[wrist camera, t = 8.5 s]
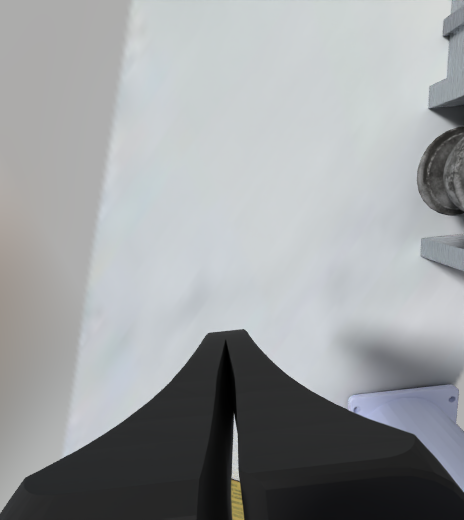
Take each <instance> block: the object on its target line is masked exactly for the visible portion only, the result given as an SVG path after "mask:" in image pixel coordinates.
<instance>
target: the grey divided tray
mask: <svg viewBox="0 0 464 520" xmlns="http://www.w3.org/2000/svg"><path fill="white" fill-rule="evenodd" d="M443 36H450V42H449V57H448V73H447V78H446V79H444V80H442V81H440V82H437V83H435V84H433V85H431V86H430V91H429V109H430V108H440V107H450V106H460V105H464V0H452V12H451V15H450V16H448V17H447V18H446V19H444V26H443ZM421 256H422V257H424V258H427V259H430V260H433V261H436V262H439V263H442V264H444V265H447V266H450V267H453V268H456V269H459V270H462V271H464V234H459V235H450V236H440V237H430V238H422V241H421Z"/></svg>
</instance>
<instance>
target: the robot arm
mask: <svg viewBox="0 0 464 520" xmlns="http://www.w3.org/2000/svg"><path fill="white" fill-rule="evenodd" d="M458 396H459V390H458V389H457V388H456V387H455V386H454V385H450V384H449V385H440V386H431V387H422V388H413V389H403V390H394V391H385V392H376V393H366V394H357V395H352V396H351V397H350V398H349V400H348V410H347V409H345V408H343V407H341V406H338V405H336V404H334V403H332V402H330V401H328V400H326V399H325V398H323V397H321V396H319V395H318V394H316V393H314V392H312V391H310V390H309V389H307V388H306V387H304V386H302V385H301V384H299V383H298V382H297V381H295V380H294V379H292V378H291V377H290V376H288V375H287V374H286V373H285V372H283V371H282V370H281V369H280V368H279V367H278V366H277V365H275V364H274V363H273V362H272V361H271V360H270V359H269V358H268V357H267V356H266V355H265V354H264V353H263V352H262V350H261V349H260V348H259V347H258V346H257V345H256V344H255V342H254V341H253V340H252V338H251V337H250V336H249V334H248V332H247V331H245V330H244V329H242V330H232V331H223V332H213V333H208V334H207V335H206V336H205V338H204V339H203V341H202V342H201V344H200V345H199V347H198V348H197V350H196V351H195V353H194V354H193V355H192V356H191V358H190V359H189V360H188V362H187V363H186V364H185V366H184V367H183V368H182V369H181V370H180V371H179V373H178V374H177V375H176V376H175V377H174V378H173V379H172V381H171V382H170V383H169V384H168V385H167V386H166V387H165V388H164V389H163V390H161V391H160V392H159V393H158V394H157V395H156V396H155V397H154V398H153V399H151V400H150V401H149V402H148V403H147V404H145V405H144V406H143V407H141V408H140V409H139V410H138V411H136V412H135V413H134V414H132V415H131V416H130V417H128V418H127V419H126V420H124V421H123V422H122V423H120V424H119V425H117V426H116V427H114V428H113V429H111V430H110V431H108V432H107V433H105V434H104V435H102V436H101V437H99V438H97V439H96V440H94V441H92V442H91V443H89V444H88V445H86V446H84V447H82V448H81V449H79V450H77V451H76V452H74V453H72V454H70V455H68V456H66V457H64V458H62V459H60V460H59V461H57V462H55V463H53V464H51V465H49V466H47V467H45V468H44V469H42V470H40V471H38V472H36V473H34V474H32V475H30V476H28V477H26V478H25V479H24V480H23V482H22V483H21V485H20V486H19V487H18V489H17V490H16V491H15V493H14V494H13V496H12V497H11V499H10V500H9V501H8V503H7V505H6V506H5V507H4V509H3V510H2V512H1V513H0V520H232V502H231V475H232V450H233V423H234V415H235V421H236V427H237V432H238V464H239V478H240V487H241V495H242V504H243V513H244V520H464V431H463V430H462V429H461V428H460V427H459V426H458V425H457V424H456V417H457V407H458ZM355 407H357V408H356V409H354V408H355Z"/></svg>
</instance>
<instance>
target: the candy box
mask: <svg viewBox="0 0 464 520" xmlns="http://www.w3.org/2000/svg"><path fill="white" fill-rule="evenodd" d="M231 502H232V520H244V513H243V504H242V495H241V487H240V482H238V481H235V480H232V479H231Z"/></svg>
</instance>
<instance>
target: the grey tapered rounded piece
mask: <svg viewBox="0 0 464 520" xmlns="http://www.w3.org/2000/svg"><path fill="white" fill-rule="evenodd" d="M417 184H418V189H419V193H420V195H421V197H422V199H423V201H424V202H425V203H426V204H427V205H428V206H429V207H430V208H431V209H433V210H435V211H437V212H439V213H443V214H448V215H457V214H463V213H464V127H458V128H455V129H452V130H449V131H446V132H445V133H443V134H442V135H440V136H439V137H437V138H436V139H435V140H434V141H433V142H432V143H431V144H430V145H429V146H428V148H427V149H426V151H425V153H424V154H423V156H422V158H421V161H420V164H419V167H418V173H417Z"/></svg>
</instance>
